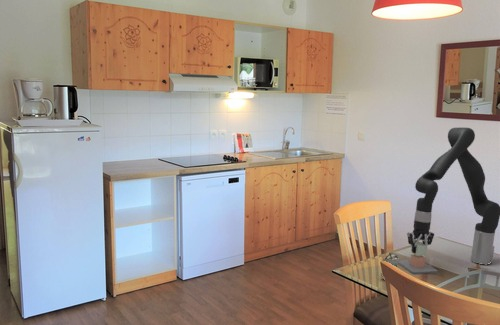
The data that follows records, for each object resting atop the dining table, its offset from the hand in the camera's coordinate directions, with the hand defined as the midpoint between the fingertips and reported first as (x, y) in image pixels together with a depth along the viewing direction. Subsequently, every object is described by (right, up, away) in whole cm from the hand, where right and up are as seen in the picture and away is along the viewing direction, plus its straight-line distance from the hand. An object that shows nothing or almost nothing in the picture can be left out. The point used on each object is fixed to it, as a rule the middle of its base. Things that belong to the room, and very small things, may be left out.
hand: (418, 252), depth 216 cm
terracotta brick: (0, -7, +1) cm, 7 cm away
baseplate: (0, -8, +1) cm, 8 cm away
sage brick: (0, 0, 0) cm, 0 cm away
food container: (-18, -9, -12) cm, 23 cm away
